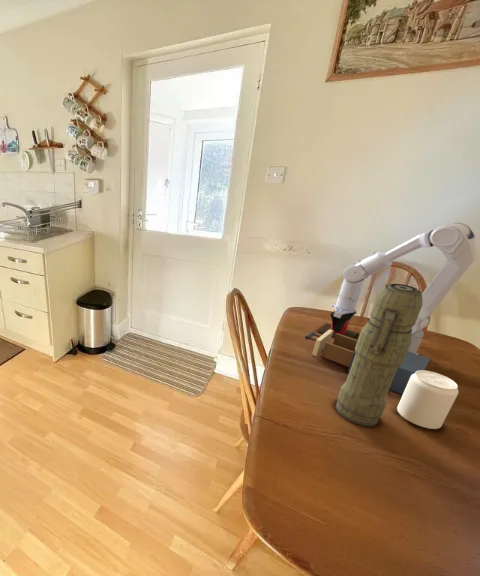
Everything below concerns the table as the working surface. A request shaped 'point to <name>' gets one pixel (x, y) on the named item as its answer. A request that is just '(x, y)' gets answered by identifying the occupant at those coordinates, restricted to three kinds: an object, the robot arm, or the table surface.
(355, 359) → the thermos
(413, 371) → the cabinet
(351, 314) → the robot arm
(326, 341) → the drawer
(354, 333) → the dark brown flat plate
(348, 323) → the red can
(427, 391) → the white cylinder
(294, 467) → the table surface
